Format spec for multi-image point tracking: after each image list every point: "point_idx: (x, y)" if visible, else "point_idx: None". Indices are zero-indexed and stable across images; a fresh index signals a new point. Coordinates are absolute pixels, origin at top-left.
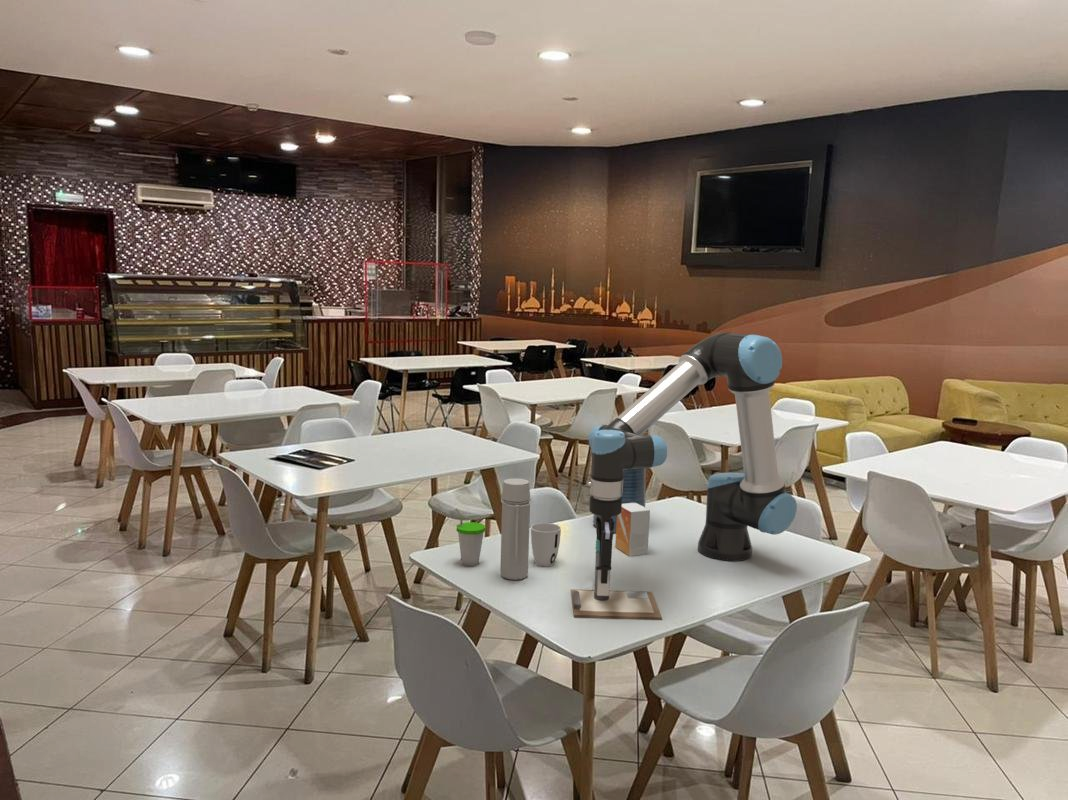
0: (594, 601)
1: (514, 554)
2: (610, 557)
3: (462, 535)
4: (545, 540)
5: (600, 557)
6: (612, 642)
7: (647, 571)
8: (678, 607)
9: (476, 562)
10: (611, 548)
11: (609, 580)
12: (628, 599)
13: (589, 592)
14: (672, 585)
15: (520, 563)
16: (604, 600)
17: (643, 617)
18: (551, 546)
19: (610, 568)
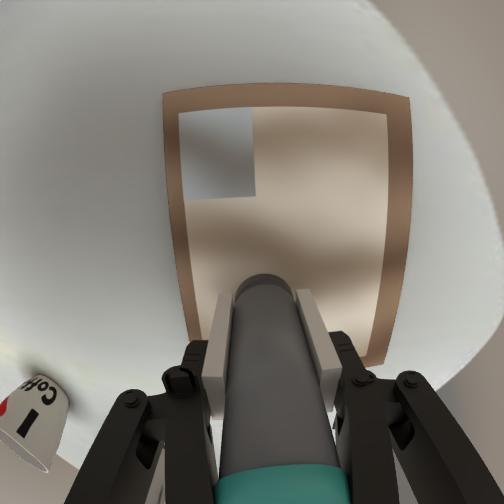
0: None
1: (164, 500)
2: (457, 431)
3: None
4: (48, 446)
5: (401, 464)
6: (494, 266)
7: (4, 134)
8: (290, 18)
9: None
10: (489, 474)
11: (283, 316)
12: (269, 195)
13: None
14: (89, 39)
15: (157, 475)
16: (291, 291)
17: (412, 160)
18: (44, 424)
19: (422, 379)
